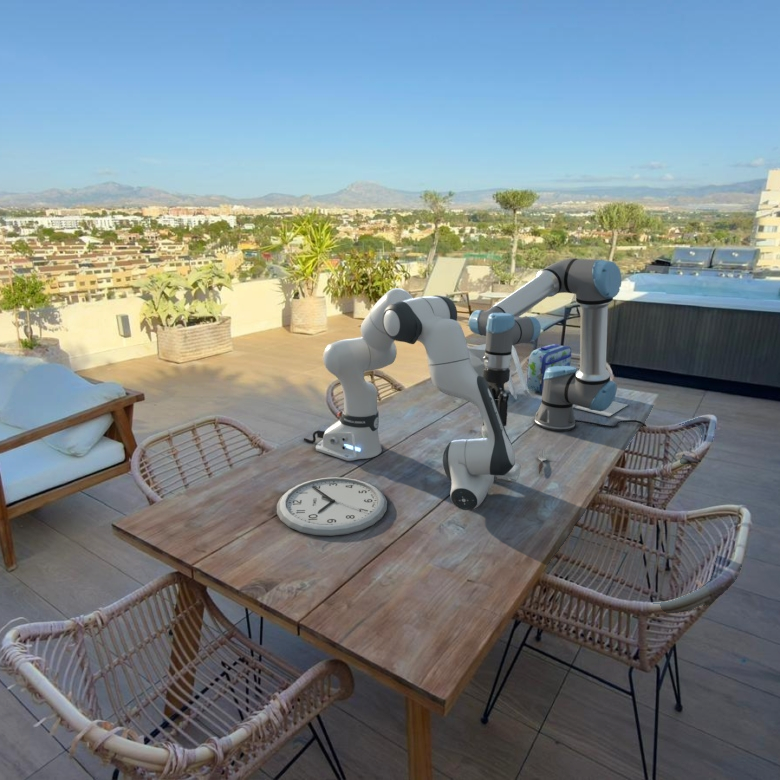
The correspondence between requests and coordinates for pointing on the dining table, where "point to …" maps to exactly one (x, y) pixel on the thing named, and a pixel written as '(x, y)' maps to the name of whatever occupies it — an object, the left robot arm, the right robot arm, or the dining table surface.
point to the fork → (542, 460)
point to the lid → (484, 431)
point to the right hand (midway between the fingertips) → (491, 441)
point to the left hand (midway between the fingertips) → (490, 456)
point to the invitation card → (609, 411)
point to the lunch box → (545, 363)
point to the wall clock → (331, 506)
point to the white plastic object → (478, 365)
